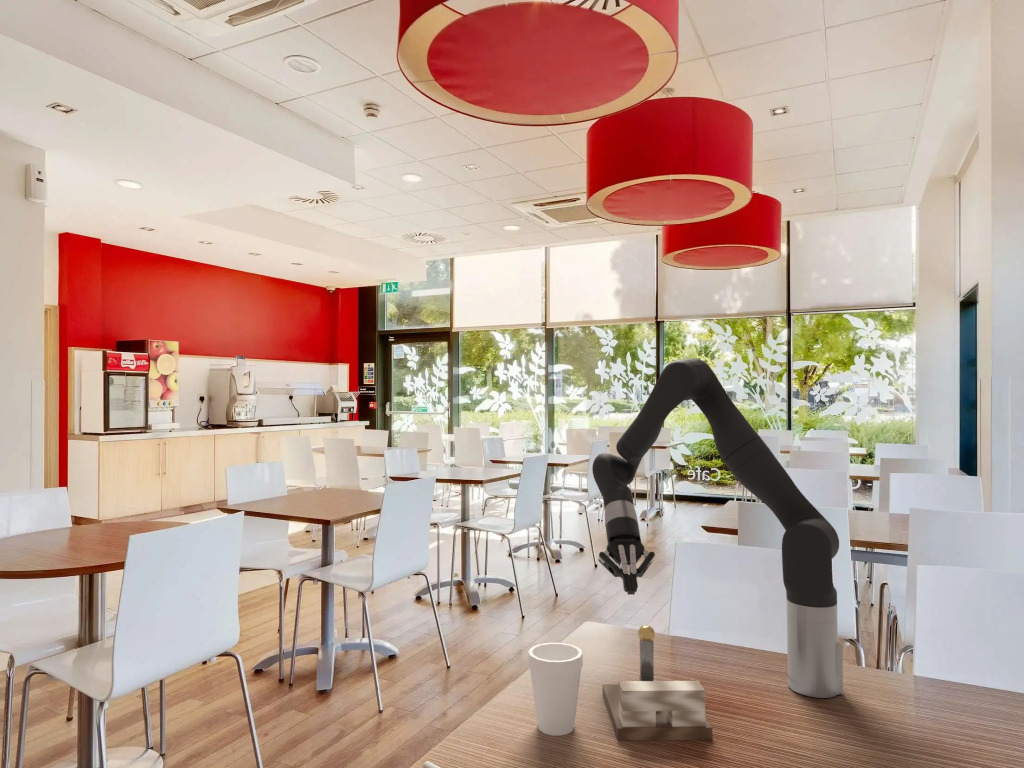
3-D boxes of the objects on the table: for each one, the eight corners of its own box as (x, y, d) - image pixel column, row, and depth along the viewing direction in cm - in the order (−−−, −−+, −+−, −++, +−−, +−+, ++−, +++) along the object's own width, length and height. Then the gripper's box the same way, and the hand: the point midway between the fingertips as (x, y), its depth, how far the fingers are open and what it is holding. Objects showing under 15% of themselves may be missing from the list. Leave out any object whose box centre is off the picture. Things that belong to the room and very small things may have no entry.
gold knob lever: (653, 685, 131) (652, 622, 131) (664, 706, 122) (663, 638, 122) (636, 685, 131) (636, 622, 131) (646, 706, 122) (645, 638, 122)
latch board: (684, 694, 132) (684, 652, 133) (712, 739, 114) (711, 691, 115) (602, 694, 132) (602, 653, 132) (617, 740, 114) (616, 692, 114)
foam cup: (582, 716, 123) (582, 643, 124) (583, 741, 114) (582, 662, 114) (530, 713, 124) (530, 642, 125) (526, 738, 115) (526, 661, 115)
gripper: (594, 515, 155) (602, 583, 142) (652, 515, 155) (665, 583, 142) (591, 534, 160) (599, 601, 147) (648, 534, 160) (660, 601, 147)
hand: (631, 592), depth 145 cm, fingers closed
